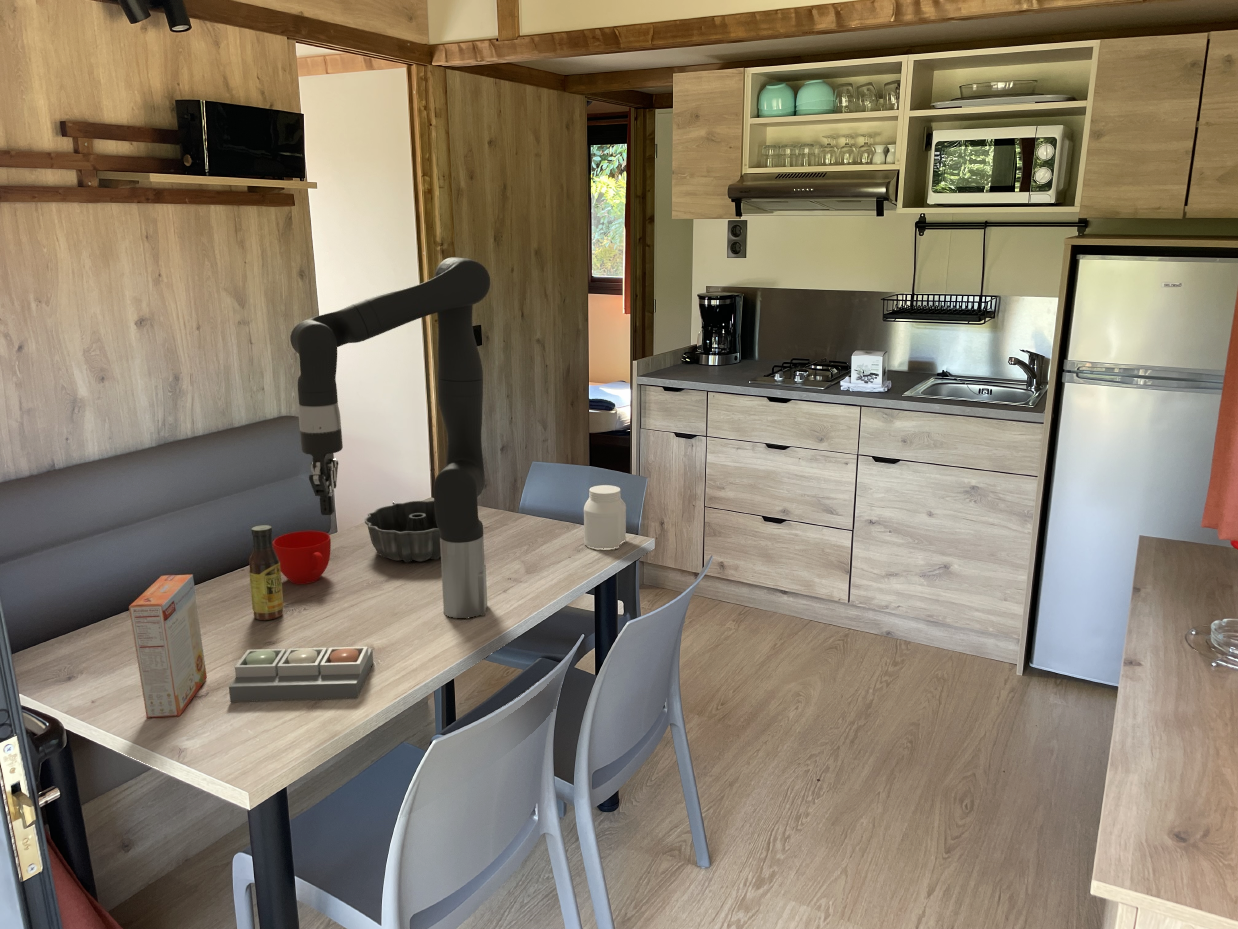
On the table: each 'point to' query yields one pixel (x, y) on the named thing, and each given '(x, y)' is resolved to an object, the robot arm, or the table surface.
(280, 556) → the ceramic cup
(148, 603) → the cracker box
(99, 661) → the table surface
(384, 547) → the bundt pan
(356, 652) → the terracotta button
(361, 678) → the button panel
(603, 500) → the jar
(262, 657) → the sage button
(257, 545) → the sauce bottle
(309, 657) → the cream button
